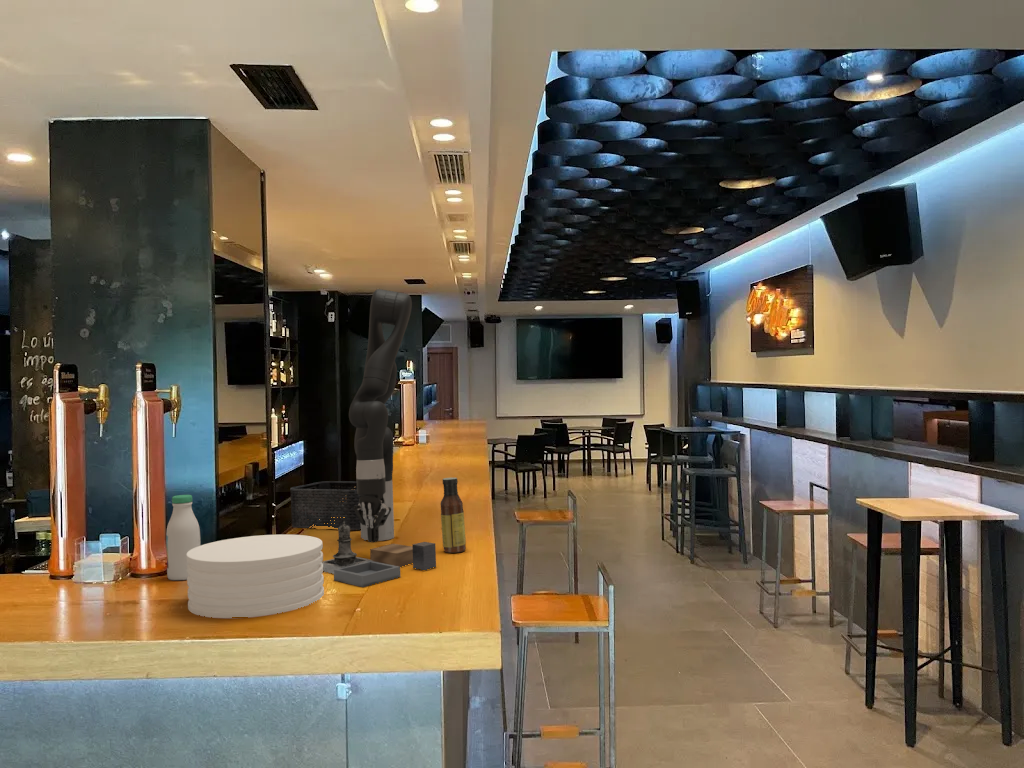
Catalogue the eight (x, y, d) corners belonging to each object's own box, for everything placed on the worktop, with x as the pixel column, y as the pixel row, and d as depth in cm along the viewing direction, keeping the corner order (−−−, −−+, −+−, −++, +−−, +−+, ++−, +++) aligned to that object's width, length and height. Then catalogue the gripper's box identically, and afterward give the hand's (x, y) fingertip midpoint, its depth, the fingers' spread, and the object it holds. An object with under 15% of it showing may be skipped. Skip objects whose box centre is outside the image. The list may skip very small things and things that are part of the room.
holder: (318, 570, 195) (317, 562, 195) (349, 563, 203) (348, 555, 203) (341, 575, 189) (341, 567, 189) (372, 567, 196) (372, 560, 196)
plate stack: (349, 596, 171) (347, 543, 171) (227, 628, 151) (226, 568, 151) (281, 577, 190) (280, 530, 190) (165, 603, 170) (163, 550, 170)
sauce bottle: (467, 548, 216) (465, 476, 216) (464, 553, 210) (461, 479, 210) (444, 548, 217) (442, 476, 216) (439, 553, 210) (437, 479, 210)
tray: (333, 580, 185) (333, 569, 185) (371, 570, 193) (370, 560, 193) (363, 587, 178) (362, 576, 178) (400, 577, 186) (400, 566, 186)
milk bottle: (208, 574, 194) (205, 493, 194) (183, 582, 187) (180, 498, 187) (185, 572, 198) (183, 493, 198) (160, 579, 191) (157, 497, 191)
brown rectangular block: (370, 564, 202) (370, 549, 201) (393, 558, 208) (393, 543, 208) (397, 569, 195) (397, 553, 195) (420, 563, 202) (420, 547, 202)
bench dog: (413, 568, 194) (412, 544, 194) (425, 565, 197) (424, 541, 197) (424, 570, 191) (423, 546, 191) (436, 567, 194) (435, 543, 194)
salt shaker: (361, 567, 198) (360, 519, 198) (349, 572, 192) (348, 523, 192) (341, 566, 200) (339, 518, 200) (328, 571, 194) (327, 522, 194)
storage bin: (286, 528, 258) (285, 487, 258) (324, 518, 276) (323, 480, 276) (359, 532, 246) (357, 489, 246) (393, 521, 264) (391, 482, 264)
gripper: (343, 477, 210) (346, 542, 209) (376, 478, 201) (379, 546, 201) (365, 474, 216) (367, 537, 215) (398, 475, 207) (401, 541, 207)
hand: (373, 541), depth 208 cm, fingers closed
